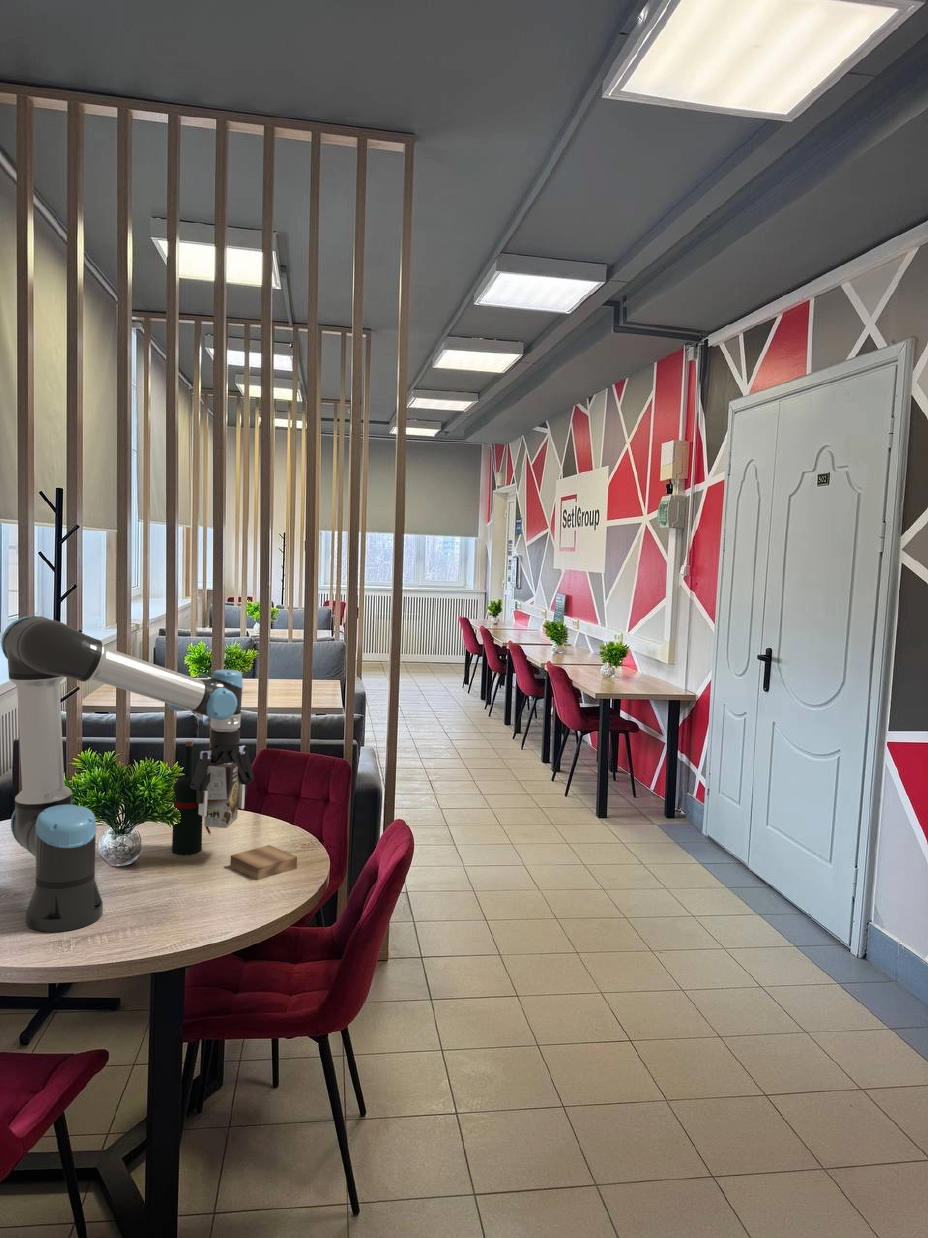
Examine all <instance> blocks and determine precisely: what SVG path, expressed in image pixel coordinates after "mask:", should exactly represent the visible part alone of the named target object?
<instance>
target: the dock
mask: <svg viewBox="0 0 928 1238" xmlns="http://www.w3.org/2000/svg"><path fill="white" fill-rule="evenodd" d="M230 868H232V869H234V870H236V871H239V872H241V873H243V874H245V875H247V876H249V877H250V878H252V879H255V880H257V881H258V880H262V879H266V878H269V877H272V876H275V875H279V874H281V873H285V872H288V871H293V870H294V869H297V868H298V856H296V855H293V854H291V853H289V852H287V851H284V850H281V849H279V848H278V847H275V846H272V845H269V844H268V845H264V846H260V847H257V848H254V849H250V850H245V851H243V852H238V853H236V854H231V855H230Z"/></svg>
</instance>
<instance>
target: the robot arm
mask: <svg viewBox="0 0 928 1238" xmlns="http://www.w3.org/2000/svg"><path fill="white" fill-rule="evenodd" d="M0 643H1V650H2V653H3V654H4V657H5V658H6V660H7V669H8V680H9V681H11V682H12V683H13V684H15V686H16V691H17V694H16V695H17V709H18V710H17V711H18V712H17V715H18V732H19V734H18V735H19V752H20V753H19V754H20V755H19V756H20V768H21V769H20V770H21V773H20V774H21V775H20V776H21V791H19V793H18V794H16V795H15V797H14V805H15V806H14V807H15V809H14V811H13V813H12V815H11V818H10V830H11V832H12V835H13V837H14V839H15V840H16V842H17V843H18V844H19V845H20V847H22V848H24V849H25V850H26V851H28V852H29V853H30V854H31V855H32V856H33V857H35V887H34V889H33V892H32V894H31V897H30V900H29V903H28V906H27V909H26V911H25V924H26V923H27V924H26V926H27V925H28V926H29V927H28V926H27V927H28V928H30V929H32V930H35V931H39V932H49V933H55V932H56V933H57V932H67V931H73V930H77V929H81V928H84V927H87V926H88V925H92V924H93V923H95V922H96V921H98V920H99V919H101V917H102V915H104V914H103V913H104V912H103V911H104V904H103V900H102V896H101V893H100V891H99V888H98V886H97V883H96V880H95V879H96V878H95V877H96V876H95V874H96V873H95V872H96V869H95V868H96V865H95V864H96V834H97V827H98V826H97V823H96V815H95V814H94V812H93V811H92V810H91V809H89V808H88V807H85V806H82V805H76V804H73V790H72V789H71V788H69V787H68V786H66V785H65V773H64V771H65V770H64V754H63V753H64V751H63V750H64V749H63V730H62V729H63V726H62V725H63V723H62V709H61V708H62V706H61V687H60V684H61V682H62V681H63V680H64V679H65V678H68V679H73V680H77V681H80V682H83V683H87V682H88V681H91V680H93V681H96V682H99V683H103V684H105V685H108V686H111V687H114V688H118V689H122V690H123V691H127V692H130V693H133V694H137V695H140V696H143V697H146V698H149V699H153V700H156V701H159V702H162V703H165V704H166V705H167V707H168V708H169V709H170V710H172V711H182V712H183V711H185V710H186V711H190V712H193V713H196V714H199V715H203V716H206V717H209V718H210V728H211V730H210V734H209V735H210V736H209V737H210V738H209V742H210V748H209V750H205V751H204V750H199V752H198V761H197V763H196V766H195V770H194V771H193V778H192V781H191V784H190V788H192V789H194V790H197V803H199V812H198V814H199V815H201V816H202V817H204V818H205V816H207V799H208V791H206V787H207V786H208V784H209V782H210V775H211V772H210V773H209V774H208V775H207V766H208V765H213V766H217V765H221V764H224V763H231V762H234V763H237V764H238V768H237V770H238V775H239V790H238V809H239V810H240V809H241V810H244V809H245V799H246V798H245V796H247V795H248V786H249V785H250V783H251V782H253V781H254V780H255V775H254V771H253V768H252V763H251V760H250V756H249V755H250V754H249V753H250V747H249V746H247V745H244V744H241V745H240V746H239V744H240V741H241V740H240V739H241V730H240V727H241V719H242V718H241V716H242V713H241V712H242V699H243V698H242V697H243V688H244V687H243V674H242V672H241V671H239V670H237V669H216V670H214V671H213V673H212V676H211V677H210V678H205V679H204V678H203V679H201V678H199V679H198V678H195V677H191V676H189V675H187V674H183V673H180V672H178V671H174V670H172V669H169V668H167V667H163V666H160V665H157V664H154V663H152V662H149V661H146V660H143V659H140V658H137V657H135V656H132V655H130V654H126V653H123V652H120V651H117V650H115V649H112V648H109V647H106V646H105V644H104V642H103V641H102V640H100V639H98V638H95V637H91V636H89V635H87V634H85V633H82V632H81V631H79V630H77V629H75V628H73V627H71V626H70V625H67V624H66V623H63V622H61V621H59V620H55V619H49V618H48V617H44V616H39V615H38V616H36V615H32V616H31V615H30V616H23V617H21V618H18V619H16V620H14V621H13V622H11V623H10V624H9V625H8V626H7V627H6V628H5V630H4V631H3V634H2V637H1V642H0ZM238 754H239V758H240V764H239V761H238V760H239V758H238V757H237V756H238ZM214 762H215V764H214ZM241 765H242V766H241Z"/></svg>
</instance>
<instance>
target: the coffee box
mask: <svg viewBox="0 0 928 1238" xmlns="http://www.w3.org/2000/svg"><path fill="white" fill-rule="evenodd" d="M238 761H239V764H240V765H241V759H238ZM214 764H215V762H214ZM206 768H207V775H208V774H209V773H210V772H211V775H210V782H209V784H208V786H207V787H206V789H205V790H206V791H208V799H207V816H205V817H204V823H203V826H204V827H205V828H206V827H208V828H209V827H210V828H219V829H220V828H221V829H227V828H229V827H230V826H231V825H232V824H233V823H234V822H235V821H236V820H237V819H238V811H239V808H238V790H239V783H240V781H239V775H238V770H237V768H238V764H237V763H234V762H231V763H224V764H221V765H217V766H213V765H208V764H207V766H206Z"/></svg>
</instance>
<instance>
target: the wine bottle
mask: <svg viewBox="0 0 928 1238" xmlns="http://www.w3.org/2000/svg"><path fill="white" fill-rule="evenodd" d="M184 747H185V749H184V775H182V776H181V777H180V778H177V780H176V781H175V782H176V783H174V785H173V793H174V792H175V795H176V802H175V803H174V802H173V803H174V807H175V808H177V809H178V810H179V811H180V813H181V819H180V821H181V822H180V823H178V824H175V825H173V824H172V837H171V838H172V842H171V844H172V845H171V854H173V855H175V856H183V857H185V856H194V855H198V854H199V853H201V852H202V851H203V816H201V815H199V814H198V812H199V803H197V790H194V789H192V788H190V784H191V781H192V778H193V775H194V755H195V754H194V753H195V752H194V751H195V749H194V748H195V747H194V740H186V741H185V746H184ZM205 829H206V831H207V834H208V835H209V836H211V835H212V833H211V830H210V828H209V827H205Z"/></svg>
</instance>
